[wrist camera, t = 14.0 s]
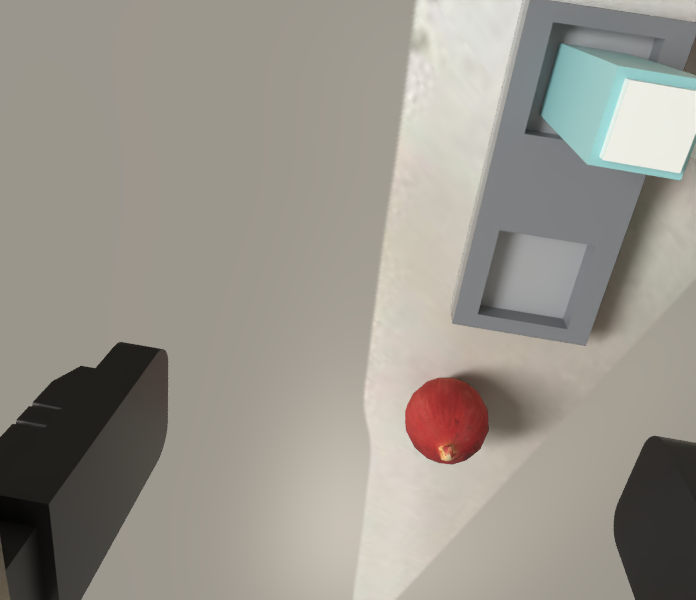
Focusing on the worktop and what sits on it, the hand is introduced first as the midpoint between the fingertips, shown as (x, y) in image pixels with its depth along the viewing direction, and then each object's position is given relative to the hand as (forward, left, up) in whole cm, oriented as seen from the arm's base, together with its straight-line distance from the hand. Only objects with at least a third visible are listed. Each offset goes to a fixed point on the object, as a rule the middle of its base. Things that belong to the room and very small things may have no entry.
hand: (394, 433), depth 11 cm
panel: (+3, +10, -32) cm, 34 cm away
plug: (-3, +9, -31) cm, 33 cm away
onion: (+20, +6, -32) cm, 38 cm away
